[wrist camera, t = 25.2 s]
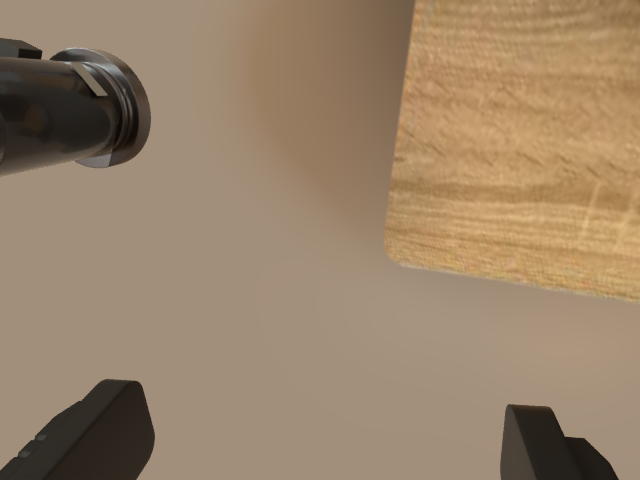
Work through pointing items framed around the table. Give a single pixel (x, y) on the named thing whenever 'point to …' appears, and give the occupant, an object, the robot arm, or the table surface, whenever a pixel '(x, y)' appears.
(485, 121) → the table surface
